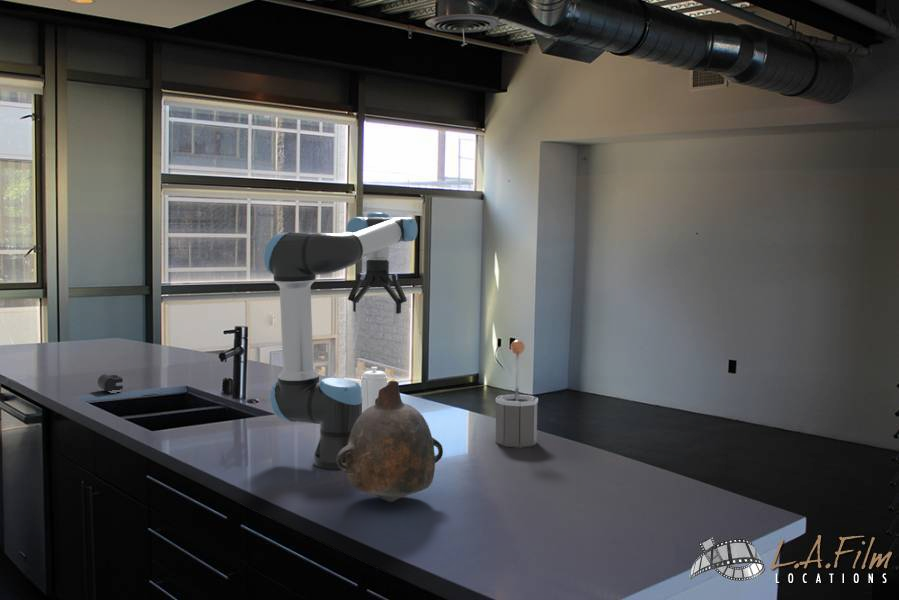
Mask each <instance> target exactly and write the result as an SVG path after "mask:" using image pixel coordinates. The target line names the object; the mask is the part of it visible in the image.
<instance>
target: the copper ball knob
mask: <svg viewBox="0 0 899 600" xmlns="http://www.w3.org/2000/svg"><path fill="white" fill-rule="evenodd" d="M510 350H511V353H513V354H515V388H514V389H515V391H514V392H515V393H514V394H515V401H518V397H519V395H520V394H519V393H520V392H519V387H520V384H519V383H520V381H519V380H520V379H519V378H520V372H519V371H520V355H521V354H523V352H524V351H525V350H526V349H525V343H524V342H523V341H522V340H519V339H516V340H514V341H512V342H511V344H510Z"/></svg>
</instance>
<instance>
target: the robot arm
mask: <svg viewBox="0 0 899 600" xmlns="http://www.w3.org/2000/svg"><path fill="white" fill-rule="evenodd" d="M417 223H418V222H417V221H416V220H415V218H413V217H405V216H404V217H390V215H389V214H388V213H387V212H369V213H367V215H366V216H365V217H364V216H355V217H352V218H350V219H349V220H348V221H347V224H346V231H343V232H340V233H331V232H330V233H326V232H291V231H289V232H279V233H276V234H274V235H273V236H272V237H271V238H270V239H269V241H268V242H267V243H266V245H265V248H264V253H263V263H264V267H266V270H267V271H268V272H269V273H270V274H272V275H273V282H274V283H275V284H276V285H277V286H278V288H279V299H280V300H279V302H280V305H279V306H280V327H281V328H280V329H281V347H282V348H281V349H282V350H281V351H282V370H281V372H280V373H278V375H277V380H276V381H275V382H274V383H273V384H272V386H271V389H272V390H270V393H269V401H270V406H271V409H272V411H273V413H274V414H275V415H276V416H277V417H278V418H279V419H281V420H285V421H289V422H293V423H294V422H298V423H307V424H315V425H319V428H320V429H319V430H320V431H319V432H320V434H319V440H318V442H317V445H316V448H315V452H314V454H313V465H314V466H316V467H318V468H321V469H326V470H333V471H334V470H335V471H336V470H341V469H340V468H339V467H338V465H337V462H336V459H337V455H338V453H339V451H340V450H341V449H343V448H344V447H345V446H347V445H348V441H349V437H350V433H351V430H352V428H353V426H354V424H355V422H356V420H357V418H358V417H359V416H360V415H361V414H362V401H363V399H362V391H361V384H359V383H358V382H356V381H354V380H351V379H346V378H340V377H339V378H338V377H337V378H336V377H326V378H322V379H321V380H320V373H319V372H318V371H316V369H315V368H314V348H313V346H314V345H313V344H314V343H313V341H314V340H313V323H312V322H313V321H312V294H311V293H312V292H311V286H312V285H313V283H315V282H316V280H317V279H316V276H322V275H328V274H332V273H336V272H338V271H339V272H340V271H342V270H344V269H347V268H349V267H351V266H354V265H356V264H357V263H359V262H360V261H361V259H362V258H364V257H366V259H367V260H366V262H365V264H366V265H365V268H366V269H365V270H366V271H365V273H362V272H359V273H357V274H356V280H355V282H354V284H353V287H352V288H351V290H350V293H349V295H348V297H347V300H348V301H350V302H352V305H353V306H352V311H353V313H355V323H360V322H361V321H362V319H361V318H362V314H361V313H362V302H360V300H361V299H362V298H363V297H364V295H365V294H366V293H367V292H368V290H369V289H370V288H383V289H385V291H386V293H388V295H389V296H390V297H391V299H392V300H393V302H395V303H393V317H392V318H393V319H392V321H393V325H394V324H395V325H396V324H399V314H401V313H402V304H403V303H407V301H408V299H407V297H406V295H405V292H404V290H403V288H402V286H401V283H400V281H399V275H398V274H397V273H393V274H390V271H389V270H390V269H389V268H390V266H389V265H390V261H389V260H388V259H389V258H390V246H392V245H395V244H397V243H399V242H405V243H406V242H413V241H415V240H416V239H417V236H418V229H419V228H418V224H417ZM365 279H366V282H365V283H364V286H363V287H362V288H361V289H360V287H361V285H362V283H363V281H364V280H365ZM389 280H391V282H392V284H393V286H394V288H395V290H396V291H394V289H393V288H392V287H391V284H390V283H389ZM359 290H360V291H359ZM358 291H359V292H358ZM342 463H346V455H344V456H343V457H342ZM341 471H342V470H341Z"/></svg>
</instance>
